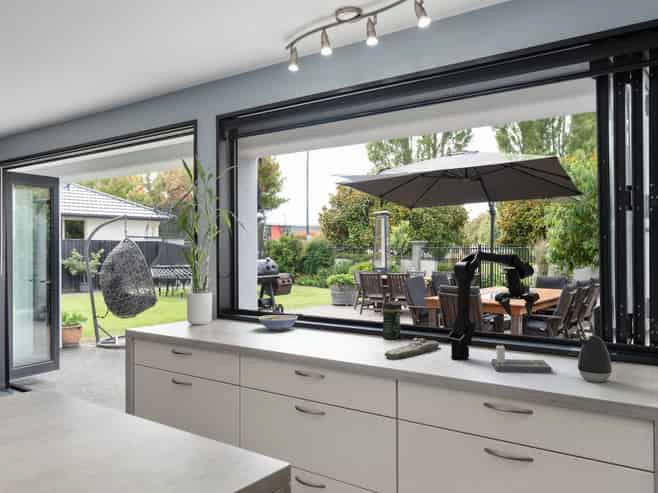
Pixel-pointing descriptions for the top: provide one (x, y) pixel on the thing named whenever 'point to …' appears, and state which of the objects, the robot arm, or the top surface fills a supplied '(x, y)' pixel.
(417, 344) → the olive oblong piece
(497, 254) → the robot arm
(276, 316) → the ramen bowl
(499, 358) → the white small cylinder
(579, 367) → the dark grey speaker
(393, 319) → the coffee jar
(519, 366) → the console
